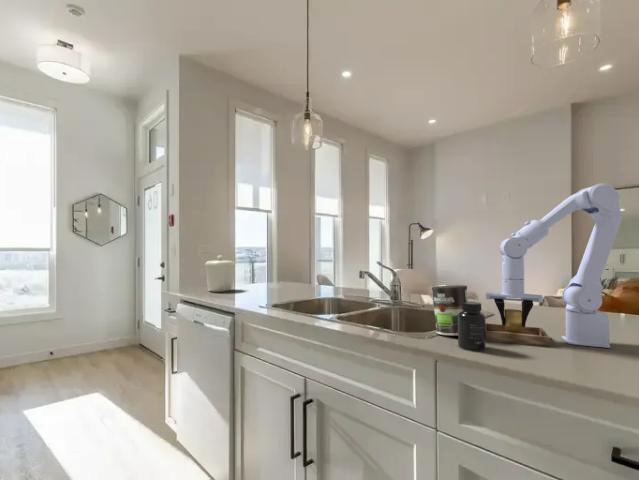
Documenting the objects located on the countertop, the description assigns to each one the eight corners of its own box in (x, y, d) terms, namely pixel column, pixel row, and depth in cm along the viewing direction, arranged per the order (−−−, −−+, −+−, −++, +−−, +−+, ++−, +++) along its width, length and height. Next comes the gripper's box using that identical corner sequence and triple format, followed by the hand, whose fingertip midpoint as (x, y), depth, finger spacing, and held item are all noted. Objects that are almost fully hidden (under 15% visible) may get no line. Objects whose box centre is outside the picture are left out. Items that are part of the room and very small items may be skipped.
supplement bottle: (453, 344, 96) (453, 300, 96) (477, 343, 97) (476, 300, 97) (465, 351, 89) (465, 304, 90) (491, 351, 90) (490, 304, 90)
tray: (542, 336, 104) (541, 327, 104) (549, 347, 93) (549, 337, 94) (482, 331, 111) (482, 322, 111) (483, 340, 100) (483, 331, 100)
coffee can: (461, 337, 100) (455, 287, 101) (429, 334, 107) (425, 287, 109) (478, 331, 106) (473, 284, 107) (447, 329, 114) (443, 285, 115)
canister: (223, 293, 196) (223, 256, 196) (197, 292, 202) (197, 255, 203) (241, 289, 213) (241, 255, 213) (216, 288, 219) (217, 254, 219)
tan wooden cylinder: (523, 330, 102) (523, 310, 102) (520, 334, 99) (520, 313, 99) (506, 328, 105) (506, 308, 105) (503, 331, 102) (502, 310, 102)
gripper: (539, 278, 103) (540, 324, 103) (485, 276, 109) (485, 320, 109) (543, 280, 97) (544, 330, 97) (485, 278, 103) (486, 325, 103)
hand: (513, 325), depth 102 cm, fingers closed on tan wooden cylinder, 4 cm apart
